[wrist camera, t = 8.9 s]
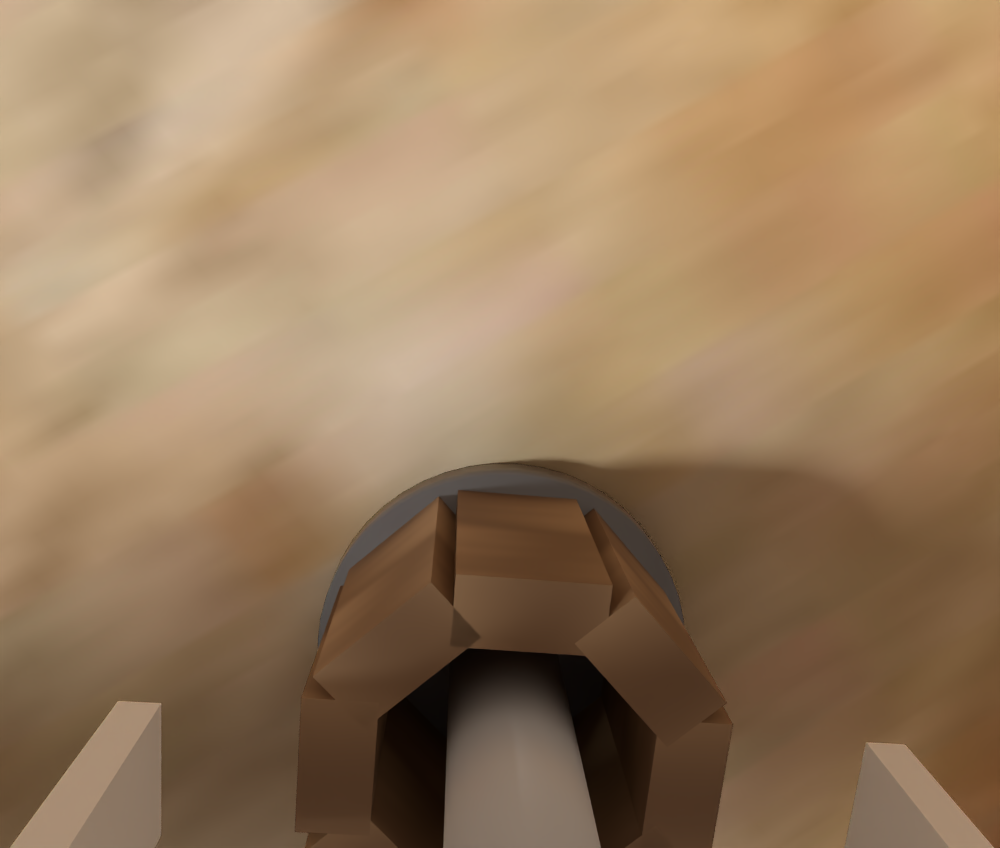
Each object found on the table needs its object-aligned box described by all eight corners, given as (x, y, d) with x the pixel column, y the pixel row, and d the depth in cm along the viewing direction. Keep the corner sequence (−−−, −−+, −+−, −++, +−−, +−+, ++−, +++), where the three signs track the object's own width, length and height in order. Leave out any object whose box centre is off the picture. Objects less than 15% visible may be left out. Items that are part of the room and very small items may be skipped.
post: (317, 778, 22) (205, 1196, 13) (332, 450, 21) (213, 648, 11) (651, 795, 23) (789, 1208, 13) (697, 477, 21) (899, 689, 11)
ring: (346, 481, 20) (308, 563, 15) (684, 507, 20) (755, 595, 15) (328, 784, 21) (289, 947, 17) (640, 801, 22) (691, 965, 17)
